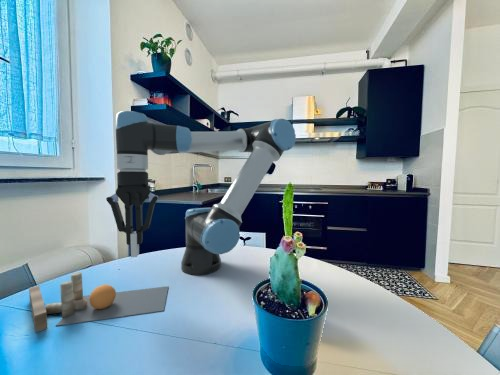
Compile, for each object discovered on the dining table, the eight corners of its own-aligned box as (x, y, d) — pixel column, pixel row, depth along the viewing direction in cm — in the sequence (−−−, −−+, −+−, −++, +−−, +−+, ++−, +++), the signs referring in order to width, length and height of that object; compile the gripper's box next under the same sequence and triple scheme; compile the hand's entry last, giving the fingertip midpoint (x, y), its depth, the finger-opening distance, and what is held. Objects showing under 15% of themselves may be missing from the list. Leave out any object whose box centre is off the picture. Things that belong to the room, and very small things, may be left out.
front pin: (87, 297, 61) (49, 302, 59) (83, 302, 59) (44, 307, 57) (87, 305, 61) (50, 310, 59) (83, 311, 59) (44, 316, 57)
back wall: (29, 301, 63) (29, 287, 63) (39, 298, 64) (38, 285, 64) (35, 332, 51) (34, 315, 50) (47, 328, 52) (46, 311, 52)
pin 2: (84, 301, 63) (83, 272, 63) (80, 306, 61) (79, 275, 60) (74, 302, 63) (73, 273, 62) (70, 307, 60) (69, 276, 60)
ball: (90, 284, 61) (97, 302, 63) (82, 298, 56) (90, 318, 57) (114, 277, 63) (120, 294, 65) (108, 290, 58) (116, 309, 59)
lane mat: (168, 286, 72) (168, 286, 72) (163, 311, 59) (163, 310, 59) (81, 296, 65) (81, 296, 65) (55, 326, 53) (55, 325, 53)
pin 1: (76, 311, 58) (74, 280, 58) (71, 317, 56) (69, 284, 56) (65, 313, 58) (63, 281, 57) (60, 319, 55) (58, 286, 55)
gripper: (100, 170, 56) (103, 262, 57) (156, 171, 59) (158, 258, 60) (110, 170, 63) (113, 252, 64) (160, 171, 66) (161, 249, 68)
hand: (135, 255), depth 62 cm, fingers closed
